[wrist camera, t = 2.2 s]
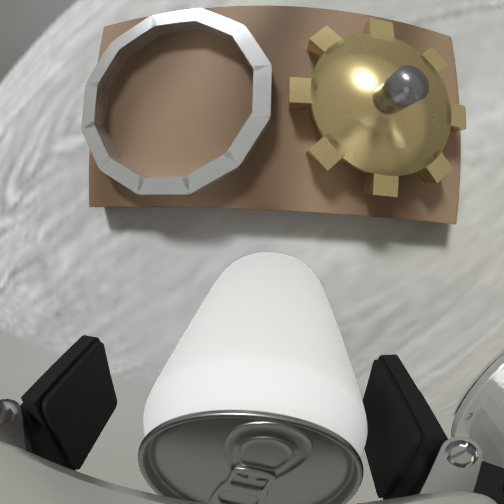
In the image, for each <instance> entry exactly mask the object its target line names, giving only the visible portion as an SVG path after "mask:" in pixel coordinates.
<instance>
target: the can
mask: <svg viewBox="0 0 504 504" xmlns="http://www.w3.org/2000/svg"><path fill="white" fill-rule="evenodd" d="M143 426H144V435H145V438H144V439H143V441H142V443H141V445H140V447H139V452H138V463H139V467H140V470H141V473H142V475H143V477H144V478H145V480H146V482H147V483H148V484H149V485H150V487H151V488H152V489H153V490H154V491H155V492H156V493H157V494H158V495H160V496H165V497H170V498H176V499H181V500H187V501H194V502H200V503H208V504H346V503H347V502H348V501H349V500H350V499H351V498H352V497H353V496H354V495H355V493H356V492H357V490H358V488H359V487H360V484H361V482H362V478H363V464H362V461H361V456H362V453H363V451H364V447H365V444H366V439H367V431H368V428H367V418H366V413H365V409H364V405H363V401H362V398H361V394H360V391H359V388H358V385H357V381H356V378H355V375H354V372H353V369H352V366H351V363H350V360H349V357H348V354H347V351H346V349H345V346H344V343H343V340H342V337H341V334H340V332H339V329H338V326H337V323H336V321H335V318H334V315H333V312H332V310H331V307H330V304H329V302H328V299H327V297H326V294H325V292H324V289H323V287H322V285H321V283H320V281H319V280H318V278H317V277H316V275H315V274H314V273H313V271H312V270H311V269H310V268H309V267H308V266H306V265H305V264H304V263H303V262H301V261H300V260H298V259H296V258H294V257H291V256H288V255H285V254H280V253H271V252H261V253H254V254H250V255H247V256H245V257H242V258H240V259H238V260H237V261H235V262H233V263H232V264H231V265H230V266H228V267H227V268H226V269H225V270H224V271H223V272H222V274H221V275H220V276H219V278H218V279H217V280H216V282H215V284H214V285H213V287H212V288H211V290H210V291H209V293H208V295H207V296H206V298H205V300H204V301H203V303H202V304H201V306H200V308H199V309H198V311H197V313H196V314H195V316H194V318H193V319H192V321H191V323H190V324H189V326H188V328H187V329H186V331H185V333H184V334H183V336H182V338H181V339H180V341H179V343H178V344H177V346H176V348H175V349H174V351H173V353H172V354H171V356H170V358H169V360H168V361H167V363H166V365H165V366H164V368H163V370H162V372H161V373H160V375H159V377H158V379H157V381H156V382H155V384H154V386H153V388H152V390H151V392H150V394H149V397H148V399H147V402H146V405H145V409H144V416H143Z"/></svg>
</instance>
